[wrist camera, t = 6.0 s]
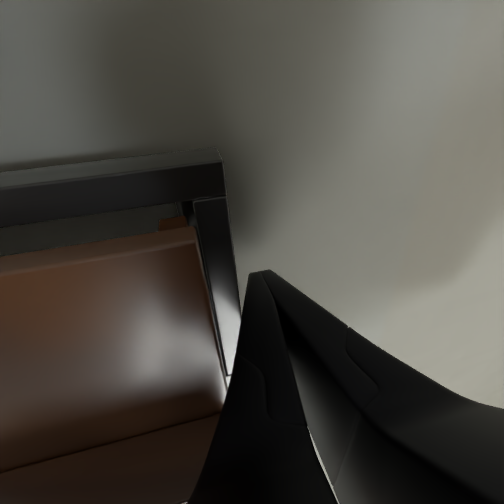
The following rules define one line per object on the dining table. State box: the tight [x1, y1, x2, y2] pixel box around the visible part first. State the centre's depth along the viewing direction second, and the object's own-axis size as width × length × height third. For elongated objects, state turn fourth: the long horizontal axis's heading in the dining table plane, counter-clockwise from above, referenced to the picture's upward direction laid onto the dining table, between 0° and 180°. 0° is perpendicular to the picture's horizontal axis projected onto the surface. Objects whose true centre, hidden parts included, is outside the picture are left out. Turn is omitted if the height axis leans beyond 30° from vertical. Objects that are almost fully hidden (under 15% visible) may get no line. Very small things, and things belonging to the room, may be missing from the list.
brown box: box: [0, 147, 242, 504], centre depth 7 cm, size 9×9×6 cm
